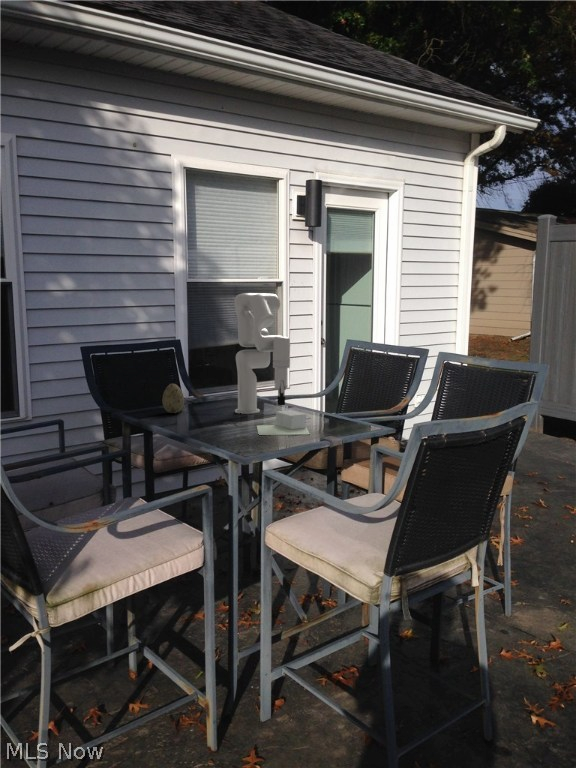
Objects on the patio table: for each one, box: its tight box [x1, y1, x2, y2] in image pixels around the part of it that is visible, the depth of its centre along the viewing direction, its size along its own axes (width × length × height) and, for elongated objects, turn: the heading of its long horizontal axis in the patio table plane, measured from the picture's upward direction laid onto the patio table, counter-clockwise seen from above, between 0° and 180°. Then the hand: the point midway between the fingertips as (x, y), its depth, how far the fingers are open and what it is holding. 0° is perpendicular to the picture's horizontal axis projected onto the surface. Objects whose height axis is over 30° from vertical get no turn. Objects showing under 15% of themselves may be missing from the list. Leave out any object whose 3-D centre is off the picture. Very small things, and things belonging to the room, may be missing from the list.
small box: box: [275, 409, 307, 430], centre depth 305 cm, size 8×6×13 cm
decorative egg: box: [161, 383, 185, 414], centre depth 339 cm, size 11×11×15 cm
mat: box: [256, 424, 311, 436], centre depth 299 cm, size 20×22×1 cm
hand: (281, 404), depth 305 cm, fingers closed
